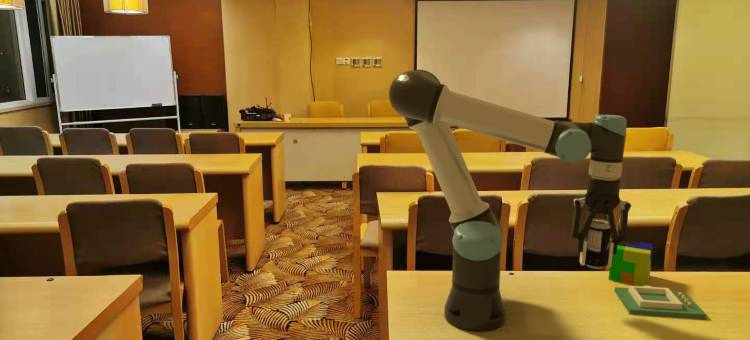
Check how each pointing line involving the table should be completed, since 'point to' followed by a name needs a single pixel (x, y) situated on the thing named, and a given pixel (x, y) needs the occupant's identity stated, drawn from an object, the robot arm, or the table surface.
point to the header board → (658, 302)
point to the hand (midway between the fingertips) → (594, 264)
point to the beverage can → (598, 244)
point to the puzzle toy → (631, 263)
